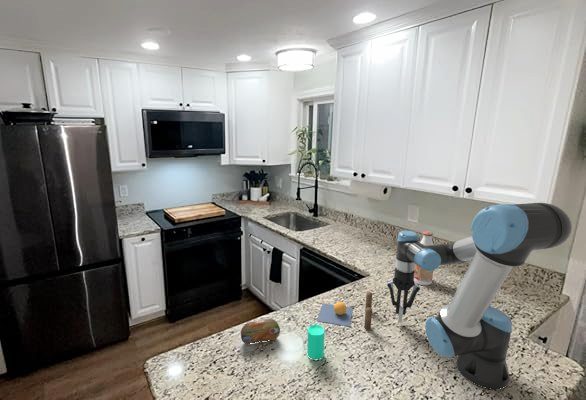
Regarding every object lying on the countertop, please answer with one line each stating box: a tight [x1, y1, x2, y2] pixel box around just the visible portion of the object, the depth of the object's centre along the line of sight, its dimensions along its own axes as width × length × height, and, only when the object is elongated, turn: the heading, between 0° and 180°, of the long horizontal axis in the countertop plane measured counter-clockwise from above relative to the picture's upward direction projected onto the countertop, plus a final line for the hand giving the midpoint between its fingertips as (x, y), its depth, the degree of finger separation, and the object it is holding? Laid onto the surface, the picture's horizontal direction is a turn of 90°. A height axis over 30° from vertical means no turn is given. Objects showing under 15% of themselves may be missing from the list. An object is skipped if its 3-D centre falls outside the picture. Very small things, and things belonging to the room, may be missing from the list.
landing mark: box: [316, 303, 353, 327], centre depth 135 cm, size 14×14×1 cm
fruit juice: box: [414, 230, 435, 286], centre depth 162 cm, size 9×9×28 cm
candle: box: [306, 324, 326, 359], centre depth 109 cm, size 6×6×12 cm
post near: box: [363, 307, 373, 331], centre depth 125 cm, size 3×3×9 cm
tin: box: [240, 318, 281, 346], centre depth 117 cm, size 15×3×8 cm, turn 105°
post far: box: [364, 291, 373, 310], centre depth 137 cm, size 3×3×9 cm
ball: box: [333, 301, 347, 315], centre depth 135 cm, size 6×6×6 cm
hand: (399, 320), depth 128 cm, fingers closed
